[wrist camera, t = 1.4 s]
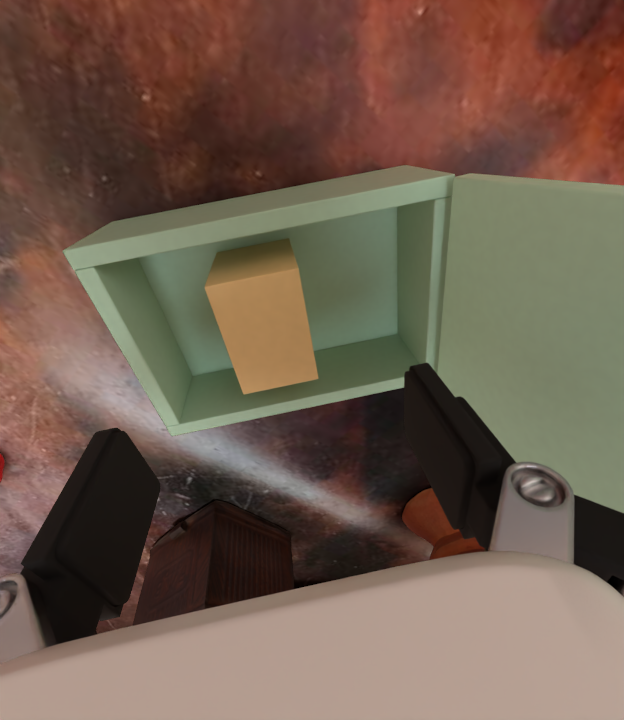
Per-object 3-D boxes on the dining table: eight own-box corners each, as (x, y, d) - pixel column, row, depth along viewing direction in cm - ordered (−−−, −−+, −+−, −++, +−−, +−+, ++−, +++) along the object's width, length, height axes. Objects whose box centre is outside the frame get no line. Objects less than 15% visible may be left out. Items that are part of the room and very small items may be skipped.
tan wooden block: (216, 252, 18) (203, 286, 14) (289, 237, 18) (298, 268, 14) (245, 345, 21) (243, 395, 17) (307, 332, 21) (318, 379, 17)
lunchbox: (187, 380, 23) (171, 437, 19) (111, 221, 17) (60, 250, 13) (404, 335, 23) (437, 380, 19) (405, 164, 17) (455, 173, 13)
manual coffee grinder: (211, 493, 30) (167, 833, 16) (293, 531, 36) (317, 808, 21) (114, 565, 35) (8, 882, 20) (200, 589, 40) (166, 851, 25)
